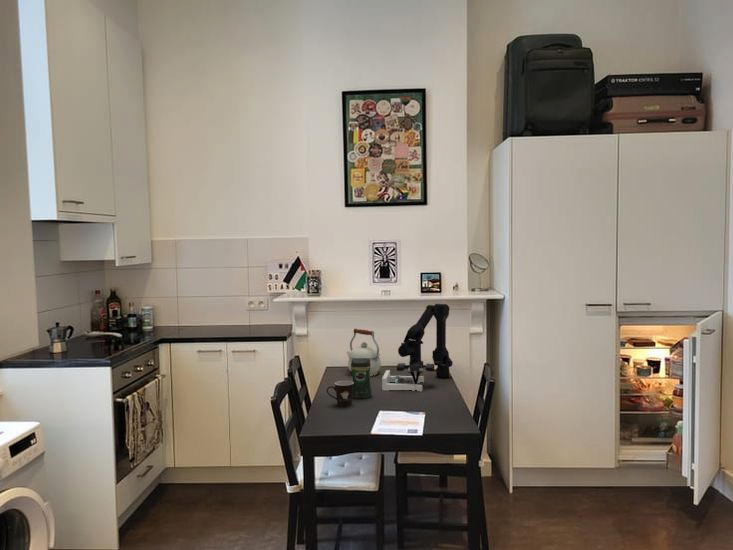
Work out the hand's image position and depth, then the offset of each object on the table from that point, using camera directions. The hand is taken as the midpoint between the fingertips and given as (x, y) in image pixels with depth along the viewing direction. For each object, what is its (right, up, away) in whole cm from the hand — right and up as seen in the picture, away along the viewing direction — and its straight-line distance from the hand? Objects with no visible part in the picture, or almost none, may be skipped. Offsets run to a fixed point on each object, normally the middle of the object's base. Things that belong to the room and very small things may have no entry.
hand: (415, 384), depth 270 cm
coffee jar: (-27, -3, -16) cm, 32 cm away
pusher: (-9, -1, +2) cm, 9 cm away
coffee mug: (-36, -4, -27) cm, 46 cm away
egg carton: (-5, -2, +1) cm, 5 cm away
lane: (-7, -1, +1) cm, 7 cm away
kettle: (-27, 0, +30) cm, 40 cm away
